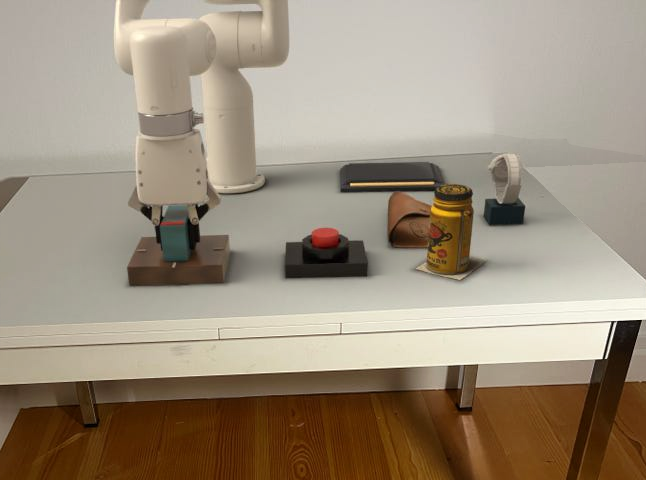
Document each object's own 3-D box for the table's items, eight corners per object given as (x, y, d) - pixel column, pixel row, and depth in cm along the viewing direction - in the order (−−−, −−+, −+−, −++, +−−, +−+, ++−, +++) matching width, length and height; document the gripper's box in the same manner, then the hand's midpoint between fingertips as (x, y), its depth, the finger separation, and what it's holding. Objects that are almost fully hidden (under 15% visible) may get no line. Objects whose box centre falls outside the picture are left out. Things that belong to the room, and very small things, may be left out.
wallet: (439, 159, 154) (446, 181, 141) (438, 168, 155) (445, 191, 142) (340, 160, 156) (338, 182, 143) (340, 169, 157) (338, 192, 144)
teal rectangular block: (172, 239, 119) (168, 203, 116) (194, 238, 118) (191, 203, 115) (163, 261, 111) (159, 224, 108) (188, 261, 111) (184, 223, 108)
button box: (285, 278, 111) (284, 253, 109) (286, 255, 119) (285, 231, 117) (367, 276, 110) (368, 251, 108) (362, 253, 118) (363, 228, 116)
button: (312, 248, 111) (312, 237, 110) (311, 238, 115) (311, 227, 114) (339, 248, 111) (339, 236, 110) (338, 238, 114) (338, 227, 113)
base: (128, 287, 111) (125, 267, 109) (144, 252, 122) (142, 234, 121) (223, 285, 110) (221, 265, 108) (230, 250, 121) (229, 232, 120)
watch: (513, 211, 131) (521, 147, 125) (525, 227, 124) (535, 161, 118) (480, 212, 131) (487, 149, 126) (491, 229, 124) (499, 162, 119)
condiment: (414, 270, 112) (419, 191, 106) (442, 251, 117) (449, 175, 111) (459, 281, 107) (467, 200, 101) (486, 262, 113) (495, 183, 107)
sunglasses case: (443, 245, 118) (423, 210, 115) (402, 266, 120) (382, 232, 118) (436, 207, 133) (418, 175, 131) (400, 226, 136) (382, 195, 133)
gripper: (228, 115, 108) (235, 236, 117) (113, 119, 109) (129, 239, 118) (224, 127, 101) (232, 255, 110) (101, 132, 102) (120, 258, 111)
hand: (179, 246), depth 114 cm, fingers closed on teal rectangular block, 3 cm apart
